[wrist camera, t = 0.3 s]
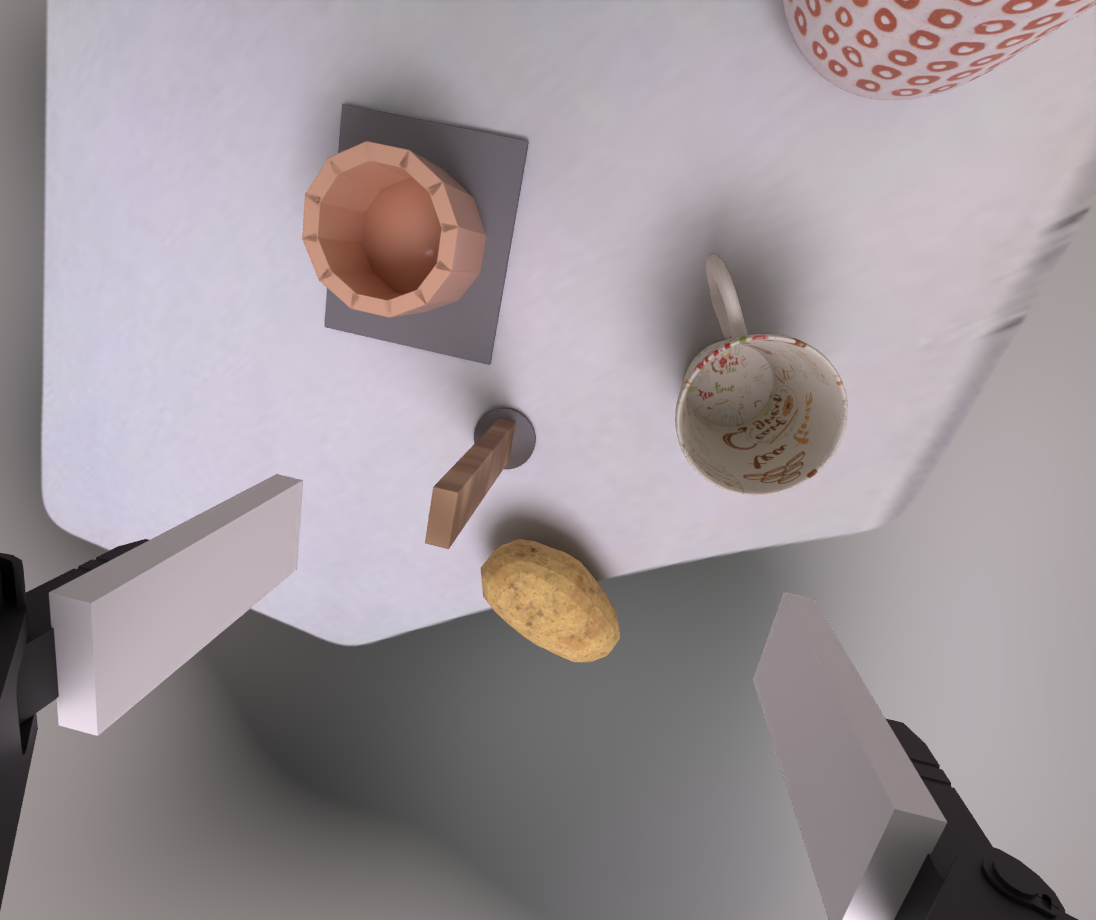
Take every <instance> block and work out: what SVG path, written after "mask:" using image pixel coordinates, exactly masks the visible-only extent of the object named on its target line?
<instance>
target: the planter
mask: <svg viewBox="0 0 1096 920" xmlns="http://www.w3.org/2000/svg"><path fill="white" fill-rule="evenodd" d="M1094 5H1096V0H783V6H784V11H785V15H786V19H787V22H788V25H789V28H790V31H791V33H792V36H793V38H794V40H795V42H796V44H797V46H798V47H799V49H800V51H801V53H802V54H803V55H804V57H805V58H806V59H807V61H808V62H809V64H810V65H811V66H812V67H813V68H814V69H815V70H816V71H817V72H818V73H819V74H820V75H822V76H823V77H824V78H825V79H826V80H828V81H829V82H831V83H832V84H834V85H835V86H837V87H839V88H841V89H843V90H845V91H847V92H850V93H852V94H855V95H858V96H862V97H866V98H870V99H878V100H907V99H916V98H921V97H927V96H931V95H934V94H938V93H941V92H944V91H947V90H950V89H953V88H956V87H958V86H961V85H963V84H965V83H968V82H970V81H972V80H974V79H976V78H978V77H980V76H982V75H984V74H986V73H988V72H989V71H991V70H993V69H994V68H996V67H998V66H999V65H1001V64H1003V63H1004V62H1006V61H1008V60H1009V59H1011V58H1013V57H1014V56H1016V55H1017V54H1019V53H1020V52H1022V51H1024V50H1025V49H1027V48H1028V47H1030V46H1031V45H1033V44H1035V43H1036V42H1038V41H1039V40H1041V39H1042V38H1044V37H1046V36H1047V35H1049V34H1050V33H1052V32H1053V31H1055V30H1057V29H1058V28H1060V27H1061V26H1063V25H1064V24H1066V23H1067V22H1069V21H1071V20H1072V19H1074V18H1075V17H1077V16H1078V15H1080V14H1082V13H1083V12H1085V11H1086V10H1088V9H1089V8H1091V7H1092V6H1094Z"/></svg>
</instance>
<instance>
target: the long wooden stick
mask: <svg viewBox="0 0 1096 920" xmlns="http://www.w3.org/2000/svg"><path fill="white" fill-rule="evenodd" d="M474 443H475V444H474V445H473V446H472V447H471V448H470V449H469V450H468V451H467V452H466V453H465V455H464V456H463V457H462V458H461V459H460V460H459V461H458V462H457V463H456V464H455V465H454V466H453V467H452V468H451V469H450V470H449V471H448V472H447V473H446V474H445V475H444V476H443V477H442V478H441V480H440V481H439V482H438V483H437V484H436V485H435V486H434V487H433V493H432V500H431V506H430V513H429V520H428V526H427V533H426V539H425V543H426V544H430V545H434V546H438V547H442V548H446V549H449V548H450V546H451V545H452V543H453V542H454V541H455V539H456V538H457V536H458V535H459V533H460V532H461V530H462V529H463V527H464V526H465V524H466V523H467V521H468V520H469V519H470V517H471V516H472V514H473V513H474V511H475V510H476V508H477V507H478V505H479V504H480V502H481V501H482V499H483V498H484V497H485V495H486V494H487V492H488V491H489V489H490V488H491V486H492V485H493V483H494V482H495V480H496V479H497V477H498V476H499V475H500V473H501V472H502V470H503V469H513V468H516V467H519V466H521V465H522V464H524V463H525V462H526V461H527V460H528V459H529V458H530V456H531V454H532V453H533V450H534V447H535V443H536V436H535V431H534V428H533V426H532V424H531V422H530V421H529V420H528V419H527V418H526V417H525V416H524V415H523V414H522V413H520V412H518V411H516V410H513V409H509V408H499V409H495V410H492V411H490V412H488V413H487V414H486V415H485V416H483V417H482V418H481V420H480V421H479V422H478V424H477V426H476V428H475V432H474Z"/></svg>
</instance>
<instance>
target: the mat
mask: <svg viewBox="0 0 1096 920" xmlns="http://www.w3.org/2000/svg"><path fill="white" fill-rule="evenodd" d="M366 141H368V142H372V143H377V144H382V145H387V146H392V147H397V148H402V149H406V150H410V151H412V152H413V153H415V154H417V155H419V156H420V157H422V158H424V159H426V160H427V161H429V162H431V163H432V164H434V165H436V166H438V167H439V168H441V169H443V170H445V171H446V172H447V173H448V174H449V175H450V176H451V177H452V178H454V179H455V180H456V181H457V182H458V183H459V184H460V185H461V186H462V187H463V188H464V189H465V190H466V191H467V192H468V193H469V194H470V195H472V196H473V197H474V199H475V202H476V205H477V208H478V211H479V214H480V217H481V220H482V223H483V226H484V229H485V232H486V235H487V236H486V242H485V248H484V254H483V261H482V267H481V273H480V274H479V275H478V277H477V278H476V279H475V280H474V282H473V283H472V284H471V286H470V287H469V288H468V289H467V291H466V292H465V293H464V294H463V296H462V297H461V298H460V299H459V301H456V302H453V303H450V304H447V305H444V306H442V307H439V308H436V309H433V310H430V311H428V312H422V313H416V314H409V315H403V316H397V317H390V318H389V317H386V316H381V315H377V314H372V313H368V312H364V311H359V310H355V309H351V308H350V307H349V306H347V305H346V304H345V303H344V302H343V301H342V300H341V299H340V298H338V297H337V296H336V295H335V294H334V293H333V292H332V291H331V290H329V289H327V302H326V314H325V327H327V328H331V329H336V330H340V331H344V332H349V333H353V334H358V335H362V336H366V337H371V338H375V339H379V340H384V341H388V342H392V343H397V344H401V345H405V346H410V347H414V348H419V349H423V350H427V351H432V352H436V353H440V354H445V355H449V356H453V357H458V358H462V359H466V360H471V361H475V362H480V363H484V364H488V365H489V364H491V358H492V352H493V346H494V340H495V335H496V329H497V323H498V317H499V311H500V306H501V300H502V294H503V288H504V282H505V277H506V271H507V265H508V259H509V253H510V248H511V242H512V236H513V230H514V224H515V219H516V213H517V207H518V201H519V195H520V190H521V184H522V178H523V172H524V166H525V161H526V155H527V149H528V143H529V142H528V141H524V140H519V139H514V138H509V137H504V136H499V135H494V134H489V133H485V132H480V131H475V130H470V129H465V128H460V127H455V126H450V125H445V124H440V123H435V122H430V121H425V120H420V119H415V118H410V117H405V116H400V115H395V114H390V113H385V112H380V111H375V110H370V109H365V108H360V107H355V106H350V105H345V104H342V115H341V127H340V140H339V152H338V154H339V153H341V152H343V151H345V150H348V149H350V148H352V147H355V146H357V145H359V144H361V143H364V142H366Z"/></svg>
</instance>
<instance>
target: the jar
mask: <svg viewBox="0 0 1096 920" xmlns="http://www.w3.org/2000/svg"><path fill="white" fill-rule="evenodd" d="M486 236H487V235H486V232H485V229H484V226H483V223H482V220H481V217H480V214H479V211H478V208H477V205H476V202H475V199H474V197H473V196H472V195H470V194H469V193H468V192H467V191H466V190H465V189H464V188H463V187H462V186H461V185H460V184H459V183H458V182H457V181H456V180H455V179H454V178H452V177H451V176H450V175H449V174H448V173H447V172H446V171H445V170H443V169H441V168H439V167H438V166H436V165H434V164H432V163H431V162H429V161H427V160H426V159H424V158H422V157H420V156H419V155H417V154H415V153H413V152H412V151H410V150H406V149H402V148H397V147H392V146H387V145H382V144H377V143H372V142H368V141H366V142H364V143H361V144H359V145H357V146H355V147H352V148H350V149H348V150H345V151H343V152H341V153H339V154H336V155H334V156H332V157H329V158H328V159H327V161H326V162H325V164H324V166H323V167H322V169H321V170H320V172H319V173H318V175H317V176H316V178H315V180H314V181H313V183H312V184H311V186H310V187H309V189H308V190H307V192H306V194H305V204H304V219H303V235H302V239H303V242H304V244H305V247H306V249H307V252H308V254H309V257H310V259H311V262H312V264H313V266H314V269H315V271H316V274H317V276H318V279H319V281H321V282H322V283H323V284H324V285H325V286H326V287H327V288H328V289H329V290H331V291H332V292H333V293H334V294H335V295H336V296H337V297H338V298H340V299H341V300H342V301H343V302H344V303H345V304H346V305H347V306H349V307H350V308H351V309H355V310H359V311H364V312H368V313H372V314H377V315H381V316H386V317H389V318H390V317H397V316H403V315H409V314H416V313H422V312H428V311H430V310H433V309H436V308H439V307H442V306H444V305H447V304H450V303H453V302H456V301H459V299H460V298H461V297H462V296H463V294H464V293H465V292H466V291H467V289H468V288H469V287H470V286H471V284H472V283H473V282H474V280H475V279H476V278H477V277H478V275H479V274H480V273H481V267H482V261H483V254H484V248H485V242H486Z"/></svg>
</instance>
